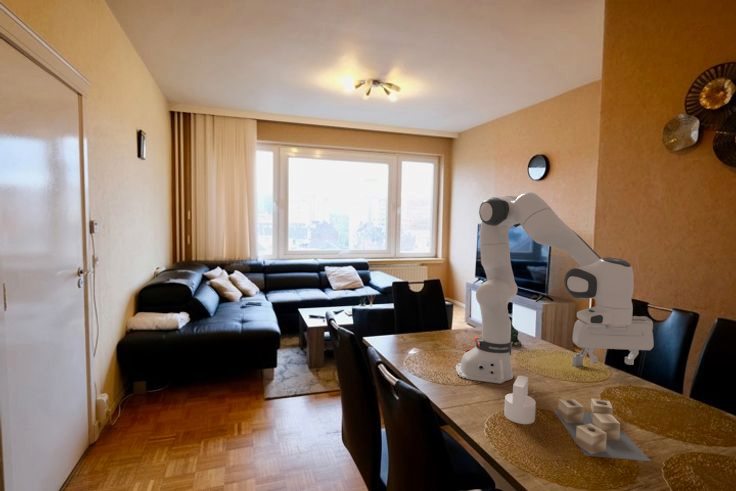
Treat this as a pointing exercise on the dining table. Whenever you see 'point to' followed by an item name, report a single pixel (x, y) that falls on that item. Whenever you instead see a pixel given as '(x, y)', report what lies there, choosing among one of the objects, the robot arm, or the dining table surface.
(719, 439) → the dining table surface
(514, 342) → the frog figurine
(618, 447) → the mat
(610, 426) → the plain block
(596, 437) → the marked block
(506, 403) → the cylinder with rectangular tab
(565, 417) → the marked block
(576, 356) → the lighter
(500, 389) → the dining table surface
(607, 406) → the marked block
